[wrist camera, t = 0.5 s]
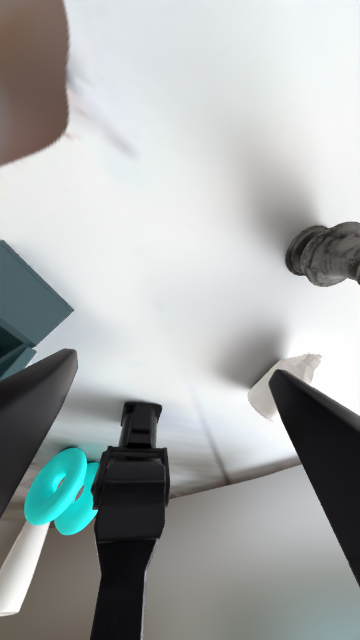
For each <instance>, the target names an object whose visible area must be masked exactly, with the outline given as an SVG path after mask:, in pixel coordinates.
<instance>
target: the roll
mask: <svg viewBox="0 0 360 640" xmlns="http://www.w3.org/2000/svg"><path fill="white" fill-rule="evenodd" d="M323 362H324V359H323V356H321V355H319V354H318V355H315V354H312V353H307V354H304V355H301V356H297V357H292V358H287V359H283V360H279V361H278V362H277V363H276V364H275V365H274V366H273V367H272V368H271V369H270V370H269V371H268V372H267V373H266V374H265V375H264V376H263V377H262V378H261V379H260V380H259V381H258V382H257V383H256V384H255V385H254V386H253V387H252V388H251V389H250V390H249V391H248V394H247V397H248V400H249V402H250V404H251V405H252V407H253V408H254V409H255V410H256V411H257V412H258V413H259V414H260V415H262V416H263V417H265V418H266V419H268V420H270V421H273V422H274V421H277V420H278V419H280V415H279V413H278V410H277V407H276V404H275V402H274V399H273V396H272V394H271V391H270V388H269V385H268V382H269V380H270V378H271V376H272V375H273V373H274V371H275V370H276V369H282V370H286V371H288V372H290V373H291V374H293V375H294V376H296V377H298V378H299V379H301V380H302V381H304V382H306V383H307V384H309V385H311V386H312V387H313V384H314V381H315V379H316V378H317V376H318V374H319V372H320V369H321V367H322V366H323Z"/></svg>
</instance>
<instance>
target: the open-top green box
mask: <svg viewBox="0 0 360 640" xmlns="http://www.w3.org/2000/svg"><path fill="white" fill-rule="evenodd" d="M73 311H74V309H72V308H71V307H70V306H69V305H68V304H67V303H66V302H65V301H64V300H63V299H62V298H61V297H60V296H59V295H58V294H57V293H56V292H55V291H54V290H53V289H52V288H51V287H50V286H49V285H48V284H47V283H46V282H45V281H44V280H43V279H42V278H41V277H40V276H39V275H38V274H37V273H36V272H35V271H34V270H33V269H32V268H31V267H30V266H29V265H28V264H27V263H26V262H25V261H24V260H23V259H22V258H21V257H20V256H18V255H17V254H16V253H15V252H14V251H13V250H12V249H11V248H10V247H9V246H8V245H7V244H6V243H5V242H4V241H3V240H1V241H0V364H1V363H3V362H4V361H6V360H7V359H9V358H10V357H12V356H14V355H15V354H17V353H18V352H20V351H21V350H23V349H25V348H26V347H30V348H33V347H35V346H36V345H37V344H39V343H40V342H41V341H42V340H43V339H44V338H45V337H46V336H47V335H48V334H49V333H50V332H51V331H53V330H54V329H55V328H56V327H57V326H58V325H59V324H60V323H61V322H62V321H63V320H64V319H65V318H67V317H68V316H69V315H70V314H71V313H72V312H73Z"/></svg>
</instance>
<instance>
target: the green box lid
mask: <svg viewBox="0 0 360 640" xmlns="http://www.w3.org/2000/svg"><path fill="white" fill-rule="evenodd" d="M35 354H36V351H35V350H33V349H32V348H30V347H26V348H25V349H23V350H21V351H20V352H18V353H17V354H15V355H14V356H12V357H10V358H9V359H7V360H6V361H4V362H3V363H1V364H0V381H1V380H3V379H5V378H7V377H9V376H11V375H13V374H15V373H17V372H19V371H21V370H23V369H24V368H25V367H26V365H27V364H28V363H29V362H30V360H31V359H32V358H33V356H34V355H35Z"/></svg>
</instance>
